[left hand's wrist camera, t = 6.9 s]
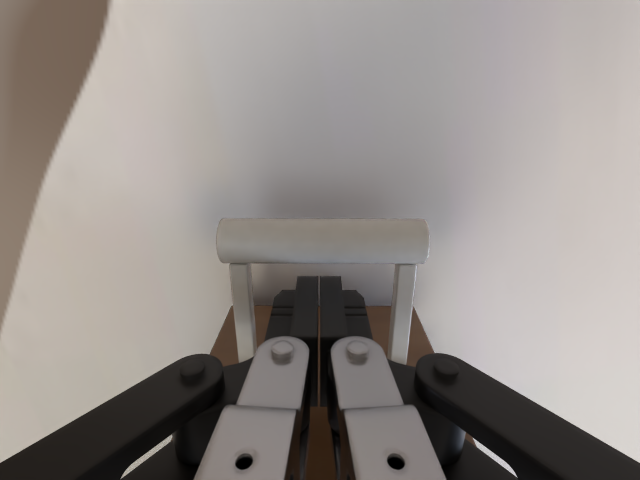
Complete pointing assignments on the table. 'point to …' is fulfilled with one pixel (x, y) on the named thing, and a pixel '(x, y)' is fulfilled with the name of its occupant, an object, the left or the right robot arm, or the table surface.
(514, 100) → the table surface
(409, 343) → the drawer
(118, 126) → the table surface
